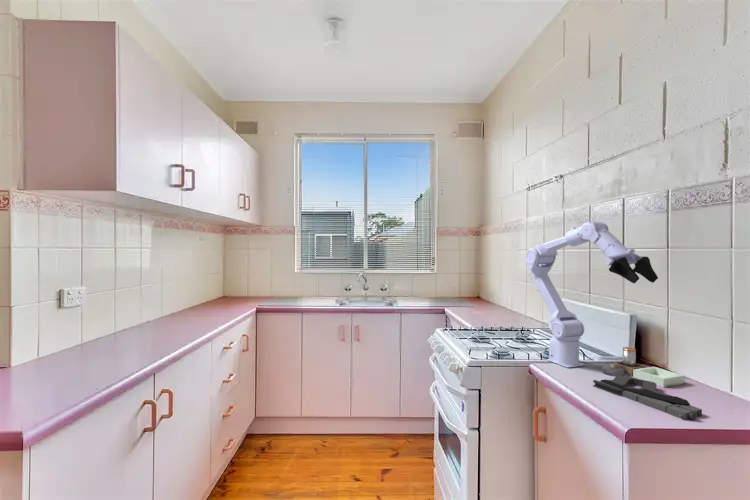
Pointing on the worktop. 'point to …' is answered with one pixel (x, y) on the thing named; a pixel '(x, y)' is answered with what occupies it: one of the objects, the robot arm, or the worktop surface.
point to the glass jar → (629, 357)
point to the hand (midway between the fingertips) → (645, 280)
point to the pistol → (649, 396)
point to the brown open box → (620, 369)
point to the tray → (659, 376)
